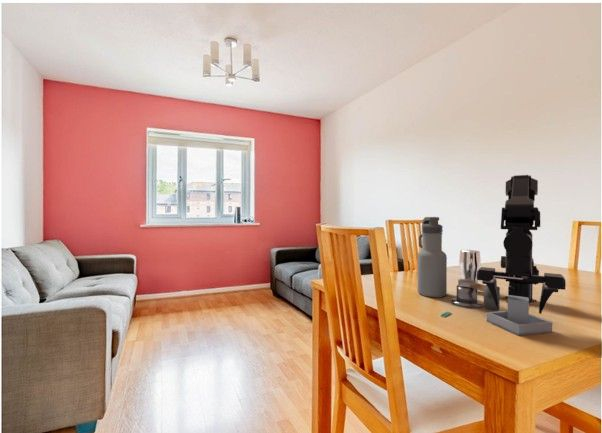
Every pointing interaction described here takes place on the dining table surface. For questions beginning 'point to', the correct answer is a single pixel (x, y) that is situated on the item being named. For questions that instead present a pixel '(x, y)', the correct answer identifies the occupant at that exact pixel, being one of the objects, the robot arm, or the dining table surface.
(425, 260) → the water bottle
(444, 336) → the dining table surface
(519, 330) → the tray
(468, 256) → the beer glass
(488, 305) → the crank arm
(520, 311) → the block
